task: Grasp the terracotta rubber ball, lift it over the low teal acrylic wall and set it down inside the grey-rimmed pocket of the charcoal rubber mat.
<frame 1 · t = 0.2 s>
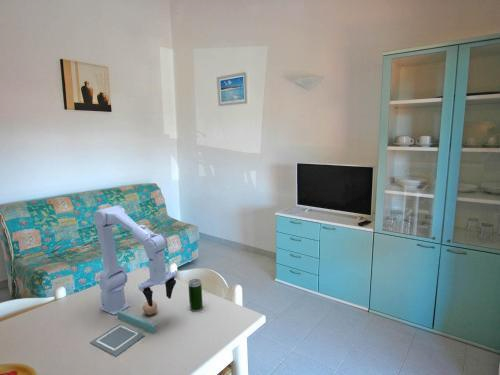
hand: (159, 301, 116), 10 cm above the table, tool pointing down, fingers open, 7 cm apart
ball: (150, 313, 125), on the table
beer can: (196, 308, 129), on the table
acrylic wall: (136, 325, 118), on the table
rubber mat: (117, 339, 110), on the table
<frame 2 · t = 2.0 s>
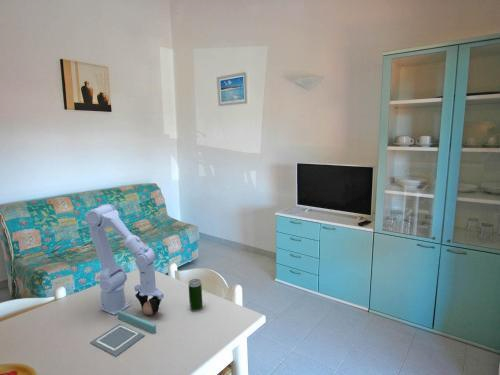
hand: (150, 310, 125), 1 cm above the table, tool pointing down, fingers closed on ball, 5 cm apart
ball: (150, 313, 125), on the table, touching gripper
everything else where it was.
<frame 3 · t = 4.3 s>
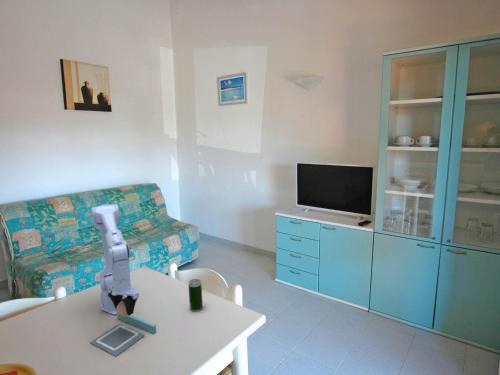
hand: (124, 311, 112), 8 cm above the table, tool pointing down, fingers closed on ball, 5 cm apart
ball: (125, 315, 112), point 7 cm above the table, touching gripper
everything else where it was.
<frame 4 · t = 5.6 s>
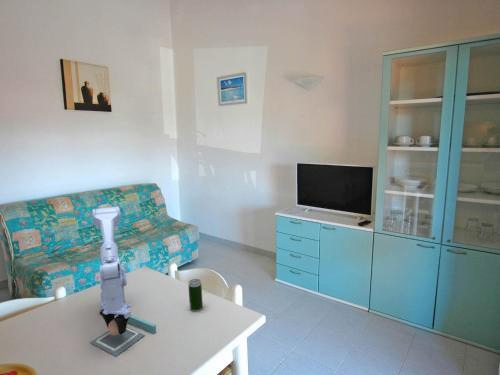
hand: (116, 330, 109), 4 cm above the table, tool pointing down, fingers closed on ball, 5 cm apart
ball: (117, 333, 109), point 2 cm above the table, touching gripper
everything else where it was.
when the fingers open (3 cm above the table, at t = 6.6 s): ball drops 2 cm, resting on rubber mat.
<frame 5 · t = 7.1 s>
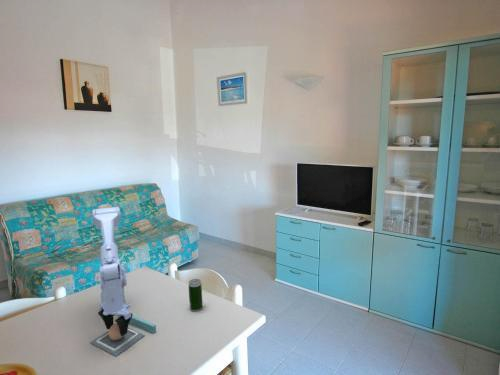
hand: (116, 331, 109), 3 cm above the table, tool pointing down, fingers open, 7 cm apart
ball: (117, 338, 110), resting on rubber mat
everything else where it was.
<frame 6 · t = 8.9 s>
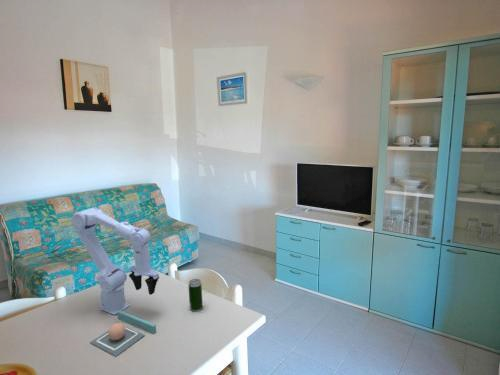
hand: (145, 291, 124), 9 cm above the table, tool pointing down, fingers open, 7 cm apart
nothing on the table moved.
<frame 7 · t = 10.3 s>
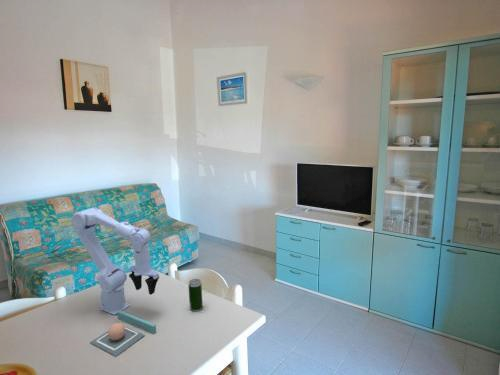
hand: (145, 291, 124), 9 cm above the table, tool pointing down, fingers open, 7 cm apart
nothing on the table moved.
at the end: ball inside the target area on the rubber mat (0.0 cm from its centre), point 0.4 cm above the rubber mat's base; ball touching rubber mat; the gripper is holding nothing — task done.
